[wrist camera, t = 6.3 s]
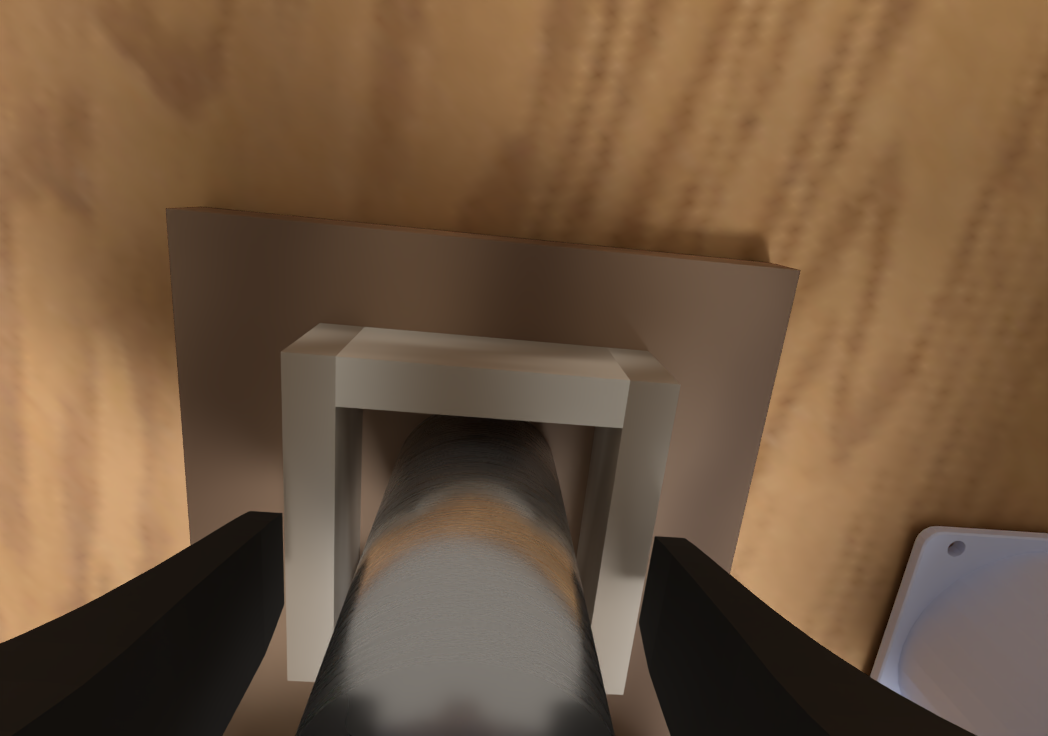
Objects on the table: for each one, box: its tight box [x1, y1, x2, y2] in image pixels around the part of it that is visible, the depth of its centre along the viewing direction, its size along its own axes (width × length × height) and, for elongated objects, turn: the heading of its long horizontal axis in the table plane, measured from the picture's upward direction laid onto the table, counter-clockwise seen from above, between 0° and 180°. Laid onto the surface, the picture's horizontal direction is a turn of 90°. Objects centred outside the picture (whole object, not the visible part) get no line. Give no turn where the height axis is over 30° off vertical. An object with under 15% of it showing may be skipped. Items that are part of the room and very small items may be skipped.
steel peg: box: [295, 414, 615, 736], centre depth 11 cm, size 4×4×8 cm
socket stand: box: [166, 207, 800, 736], centre depth 12 cm, size 14×19×10 cm
